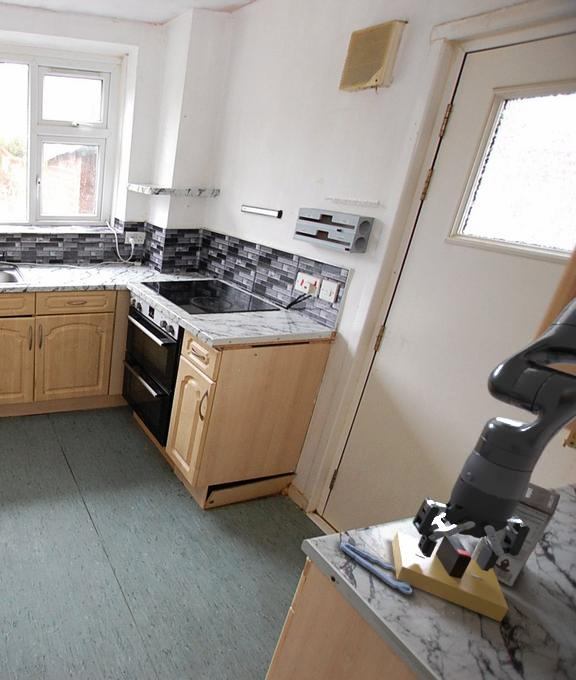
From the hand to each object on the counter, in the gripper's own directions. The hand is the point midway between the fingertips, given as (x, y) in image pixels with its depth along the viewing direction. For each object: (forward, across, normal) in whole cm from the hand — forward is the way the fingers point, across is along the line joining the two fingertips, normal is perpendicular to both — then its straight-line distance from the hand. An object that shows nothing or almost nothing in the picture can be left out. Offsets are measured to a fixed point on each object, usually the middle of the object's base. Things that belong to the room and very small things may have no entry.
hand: (452, 560), depth 78 cm
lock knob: (+1, 0, 0) cm, 1 cm away
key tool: (+5, +11, +1) cm, 12 cm away
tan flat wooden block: (+4, 0, 0) cm, 4 cm away
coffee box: (+5, -12, -8) cm, 15 cm away
